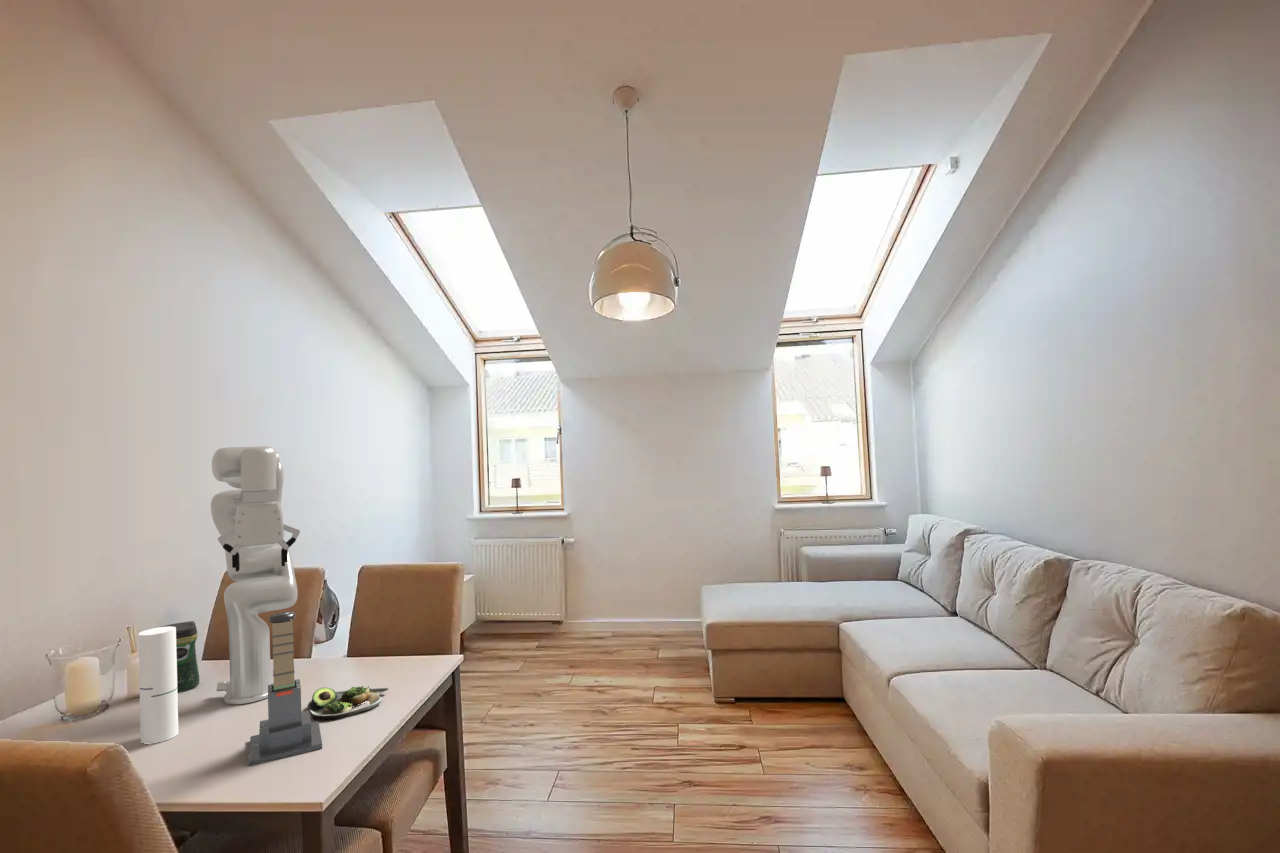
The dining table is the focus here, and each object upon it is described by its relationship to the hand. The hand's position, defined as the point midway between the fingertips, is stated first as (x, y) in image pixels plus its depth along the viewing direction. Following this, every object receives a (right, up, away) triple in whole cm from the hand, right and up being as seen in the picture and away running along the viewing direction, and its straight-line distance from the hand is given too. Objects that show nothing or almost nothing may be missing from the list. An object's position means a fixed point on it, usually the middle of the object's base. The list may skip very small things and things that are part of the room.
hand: (260, 567), depth 159 cm
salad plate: (+16, -38, +9) cm, 42 cm away
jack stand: (+13, -37, -12) cm, 41 cm away
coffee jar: (-39, -41, +27) cm, 62 cm away
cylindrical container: (-21, -39, -5) cm, 44 cm away
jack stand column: (+12, -30, -12) cm, 35 cm away
